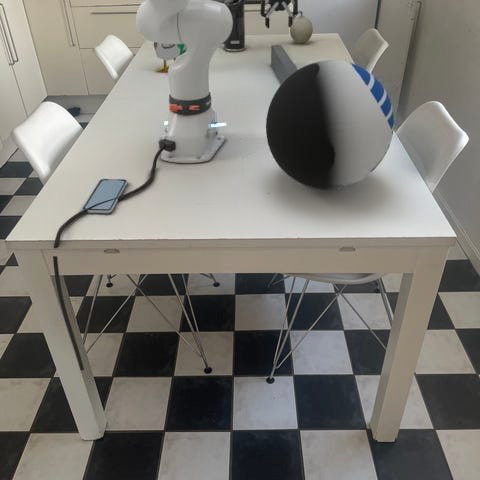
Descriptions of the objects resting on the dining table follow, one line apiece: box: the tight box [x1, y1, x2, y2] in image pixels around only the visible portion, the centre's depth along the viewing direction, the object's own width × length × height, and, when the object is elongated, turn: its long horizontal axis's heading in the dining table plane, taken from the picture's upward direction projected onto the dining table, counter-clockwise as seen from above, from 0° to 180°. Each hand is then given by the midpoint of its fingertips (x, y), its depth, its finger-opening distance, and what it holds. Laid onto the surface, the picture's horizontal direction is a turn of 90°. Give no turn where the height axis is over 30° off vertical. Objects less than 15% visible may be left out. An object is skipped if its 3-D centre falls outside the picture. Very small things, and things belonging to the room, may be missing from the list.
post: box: [270, 44, 299, 85], centre depth 191 cm, size 52×4×8 cm, turn 7°
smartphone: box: [81, 178, 128, 214], centre depth 127 cm, size 7×1×15 cm
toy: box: [153, 42, 187, 73], centre depth 204 cm, size 8×20×24 cm, turn 69°
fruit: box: [289, 10, 314, 44], centre depth 238 cm, size 10×12×15 cm
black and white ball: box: [265, 59, 395, 190], centre depth 123 cm, size 30×30×30 cm
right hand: (278, 27), depth 201 cm, fingers open, 8 cm apart
